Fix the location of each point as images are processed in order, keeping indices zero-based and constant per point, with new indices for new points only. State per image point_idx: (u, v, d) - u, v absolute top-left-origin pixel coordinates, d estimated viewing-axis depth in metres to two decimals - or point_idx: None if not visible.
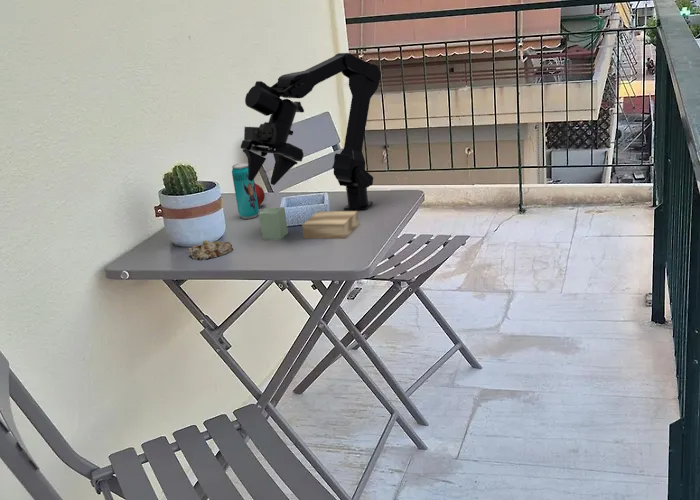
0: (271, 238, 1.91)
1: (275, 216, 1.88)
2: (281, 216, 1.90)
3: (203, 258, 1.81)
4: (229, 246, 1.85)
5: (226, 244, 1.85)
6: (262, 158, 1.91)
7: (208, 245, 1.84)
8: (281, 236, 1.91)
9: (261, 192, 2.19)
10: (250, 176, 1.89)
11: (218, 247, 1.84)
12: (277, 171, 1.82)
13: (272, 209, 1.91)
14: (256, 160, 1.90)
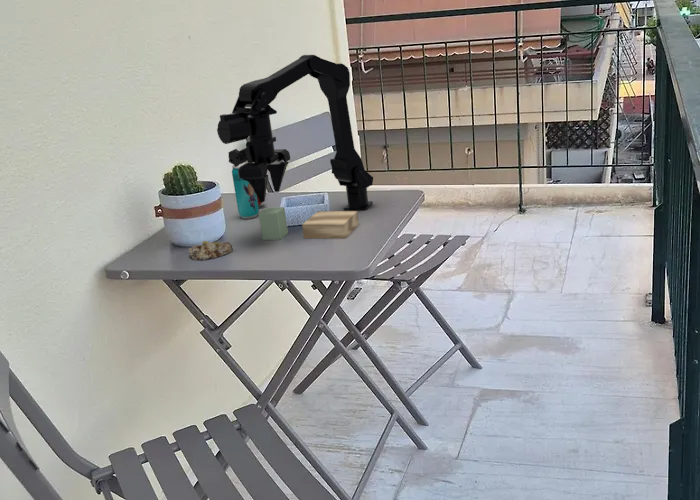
0: (271, 238, 1.91)
1: (275, 216, 1.88)
2: (281, 216, 1.90)
3: (203, 258, 1.81)
4: (229, 246, 1.84)
5: (226, 245, 1.85)
6: (280, 166, 1.91)
7: (208, 246, 1.84)
8: (281, 236, 1.91)
9: None
10: (274, 188, 1.93)
11: (218, 247, 1.84)
12: (256, 190, 1.84)
13: (272, 209, 1.91)
14: (275, 170, 1.92)
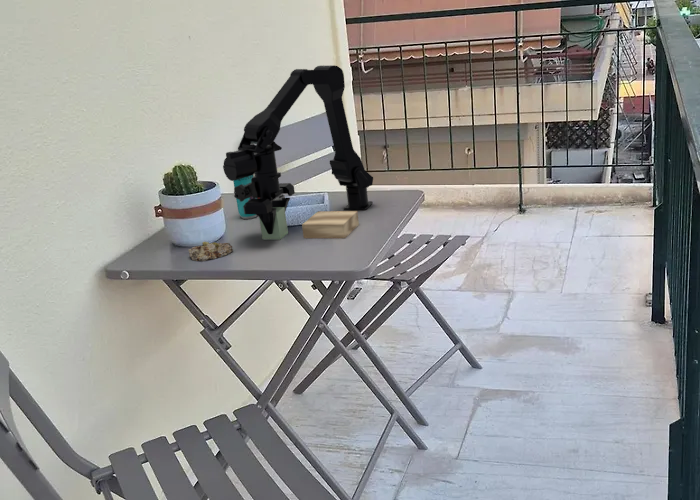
0: (271, 238, 1.91)
1: (275, 216, 1.88)
2: (281, 216, 1.90)
3: (202, 259, 1.81)
4: (229, 247, 1.84)
5: (225, 245, 1.84)
6: (282, 202, 1.93)
7: (208, 246, 1.83)
8: (281, 236, 1.91)
9: None
10: None
11: (218, 248, 1.83)
12: (265, 223, 1.88)
13: None
14: None
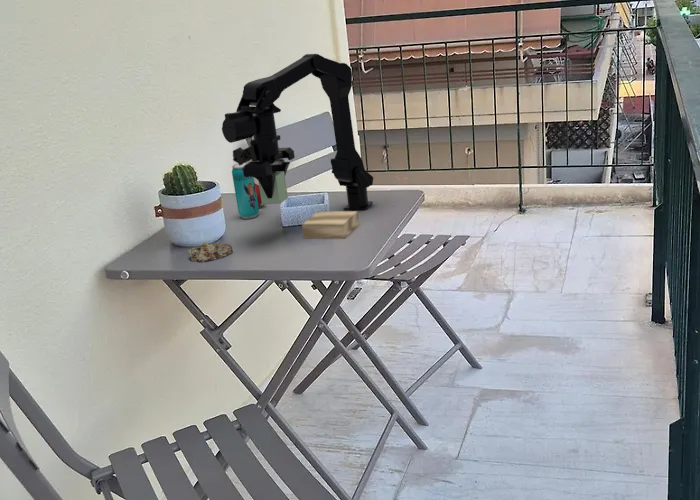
0: (270, 202, 1.88)
1: (275, 180, 1.85)
2: (280, 180, 1.87)
3: (202, 260, 1.80)
4: (229, 248, 1.83)
5: (225, 246, 1.83)
6: (282, 166, 1.90)
7: (208, 247, 1.83)
8: (281, 200, 1.88)
9: None
10: None
11: (217, 249, 1.83)
12: (264, 186, 1.85)
13: None
14: None
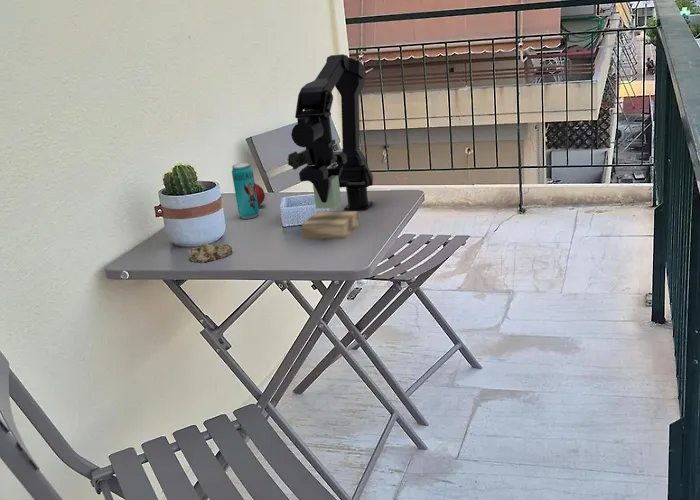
0: (325, 206, 1.87)
1: (330, 184, 1.85)
2: (335, 184, 1.87)
3: (202, 261, 1.80)
4: (228, 249, 1.83)
5: (225, 247, 1.83)
6: (335, 170, 1.89)
7: (208, 248, 1.82)
8: (335, 204, 1.87)
9: (261, 192, 2.19)
10: None
11: (217, 250, 1.82)
12: (319, 190, 1.85)
13: None
14: (330, 175, 1.90)
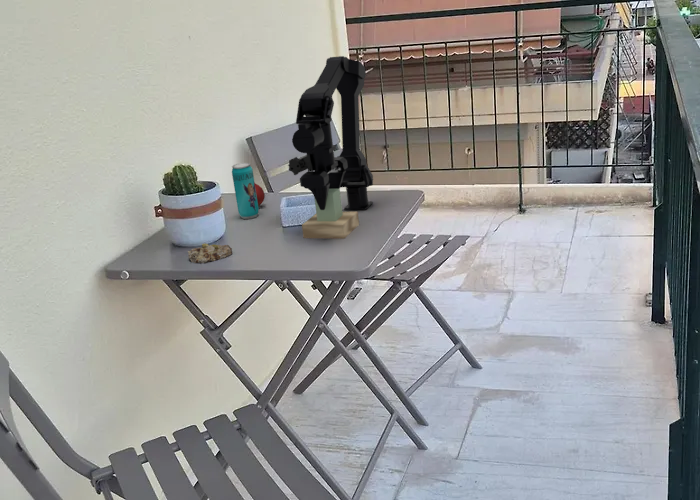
0: (326, 219, 1.88)
1: (331, 197, 1.86)
2: (336, 198, 1.88)
3: (201, 261, 1.79)
4: (228, 249, 1.82)
5: (225, 248, 1.82)
6: (338, 174, 1.91)
7: (207, 248, 1.82)
8: (336, 217, 1.88)
9: (261, 192, 2.19)
10: None
11: (217, 250, 1.82)
12: (317, 198, 1.84)
13: None
14: (332, 179, 1.92)
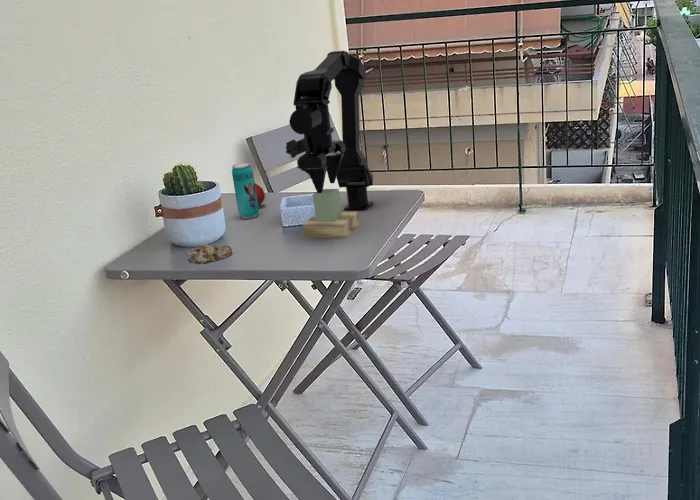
0: (325, 220, 1.88)
1: (330, 197, 1.86)
2: (335, 198, 1.88)
3: (201, 262, 1.79)
4: (228, 250, 1.82)
5: (225, 248, 1.82)
6: (336, 157, 1.90)
7: (207, 249, 1.82)
8: (335, 218, 1.88)
9: (261, 192, 2.19)
10: (330, 179, 1.92)
11: (217, 251, 1.82)
12: (314, 181, 1.82)
13: (326, 191, 1.89)
14: (330, 162, 1.91)
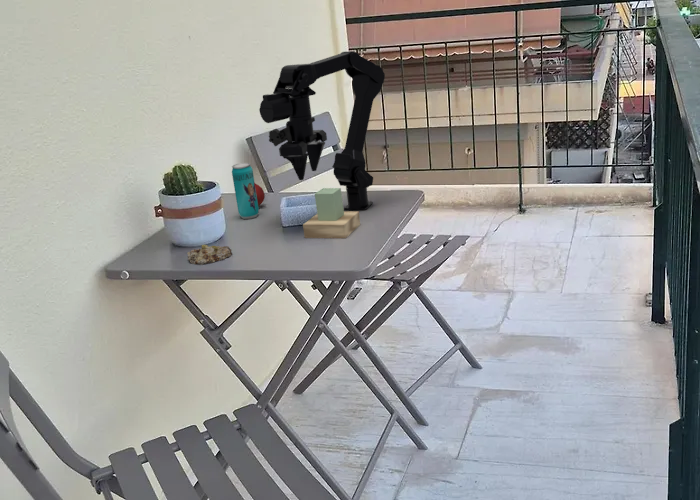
0: (327, 219, 1.89)
1: (331, 197, 1.86)
2: (337, 197, 1.88)
3: (201, 263, 1.78)
4: (228, 251, 1.81)
5: (225, 249, 1.82)
6: (318, 146, 1.98)
7: (207, 250, 1.81)
8: (337, 217, 1.88)
9: (261, 192, 2.19)
10: (311, 167, 2.00)
11: (217, 252, 1.81)
12: (296, 168, 1.90)
13: (328, 190, 1.89)
14: (312, 150, 1.99)
